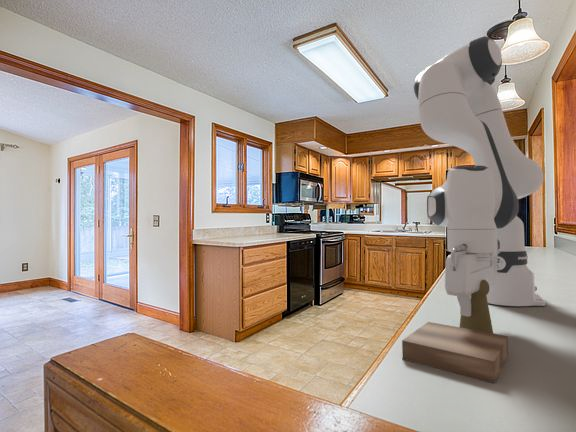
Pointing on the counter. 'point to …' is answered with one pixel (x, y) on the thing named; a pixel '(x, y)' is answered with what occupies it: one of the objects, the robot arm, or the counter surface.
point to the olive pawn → (479, 311)
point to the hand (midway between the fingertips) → (473, 311)
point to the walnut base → (457, 350)
